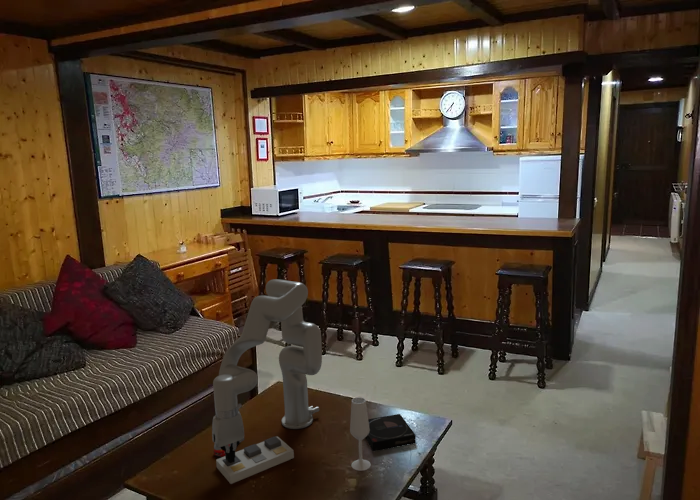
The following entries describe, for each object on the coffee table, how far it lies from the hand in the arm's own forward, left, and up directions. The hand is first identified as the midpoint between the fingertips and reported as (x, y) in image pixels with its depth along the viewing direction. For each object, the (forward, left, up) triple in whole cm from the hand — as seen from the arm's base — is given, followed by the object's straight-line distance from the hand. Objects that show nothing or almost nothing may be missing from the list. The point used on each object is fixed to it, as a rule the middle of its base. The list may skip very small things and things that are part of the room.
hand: (230, 460), depth 185 cm
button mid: (-8, 0, -2) cm, 8 cm away
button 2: (-16, 0, -2) cm, 16 cm away
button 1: (0, 0, -3) cm, 3 cm away
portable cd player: (-55, +17, -4) cm, 58 cm away
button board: (-8, +2, -3) cm, 9 cm away
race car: (-4, -13, -4) cm, 15 cm away
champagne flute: (-36, +26, -3) cm, 45 cm away
